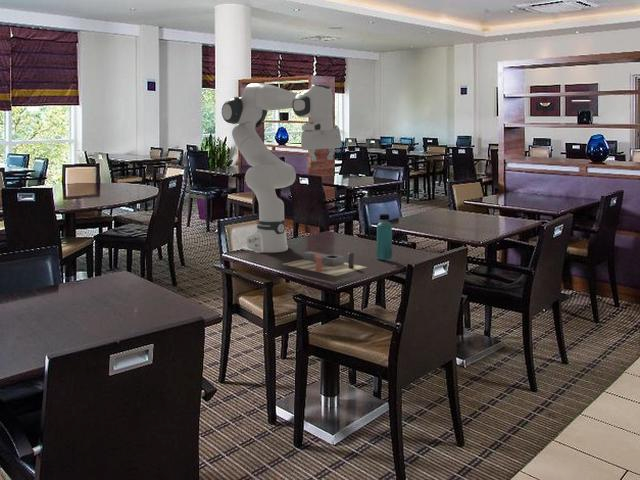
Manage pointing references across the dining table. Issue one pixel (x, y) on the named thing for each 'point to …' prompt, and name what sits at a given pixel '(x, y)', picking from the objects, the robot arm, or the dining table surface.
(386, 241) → the beverage bottle
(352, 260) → the pintle
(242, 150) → the robot arm
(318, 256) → the keeper
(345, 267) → the base board
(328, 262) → the link
